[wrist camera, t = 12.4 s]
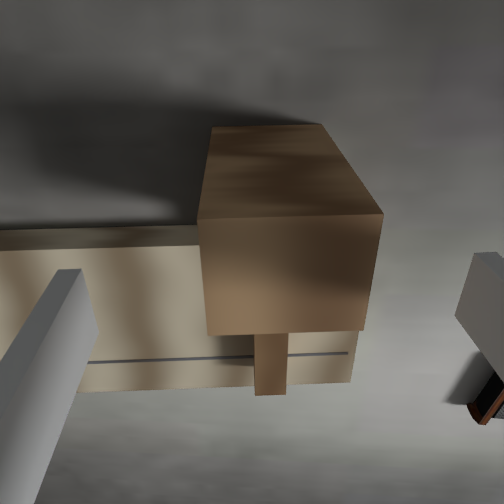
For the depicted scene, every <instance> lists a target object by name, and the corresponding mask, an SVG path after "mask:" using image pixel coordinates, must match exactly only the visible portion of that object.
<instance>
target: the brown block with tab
mask: <svg viewBox="0 0 504 504" xmlns="http://www.w3.org/2000/svg"><path fill="white" fill-rule="evenodd" d="M383 217H384V213H383V212H382V210H381V209H380V208H379V206H378V205H377V203H376V202H375V200H374V199H373V197H372V196H371V195H370V193H369V192H368V190H367V189H366V187H365V186H364V185H363V183H362V182H361V180H360V179H359V177H358V176H357V174H356V173H355V172H354V170H353V169H352V167H351V166H350V164H349V163H348V161H347V160H346V159H345V157H344V156H343V154H342V153H341V151H340V150H339V149H338V147H337V146H336V144H335V143H334V141H333V140H332V138H331V137H330V136H329V134H328V133H327V131H326V130H325V128H324V127H323V125H322V124H313V125H267V126H220V127H212V131H211V137H210V143H209V149H208V155H207V161H206V167H205V173H204V179H203V185H202V191H201V197H200V203H199V209H198V215H197V227H198V237H199V248H200V259H201V270H202V281H203V292H204V302H205V313H206V324H207V335H208V336H220V335H249V334H253V347H254V385H255V396H261V395H286V380H287V360H288V339H289V333H306V332H335V331H363V330H364V325H365V319H366V313H367V308H368V302H369V296H370V291H371V285H372V279H373V274H374V268H375V262H376V257H377V251H378V245H379V240H380V234H381V228H382V223H383Z"/></svg>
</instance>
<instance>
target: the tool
mask: <svg viewBox="0 0 504 504" xmlns="http://www.w3.org/2000/svg"><path fill="white" fill-rule="evenodd" d="M466 405H467V408H468V410H469V412H470V414H471V416H472V418H473V419H474V420H475V421H476V422H477V423H478V424H480V425H486V424H487V423H488V421H489V420H490V419H491V418H499V419H504V382H503V381H502V380H501V378H500V377H499V375H498V374H497V373H496V371H495V372H494V374H493V375H492V376H491V378H490V379H489V381H488V382H487V384H486V385H485V387H484V388H483V390H482V391H481V393H480V394H479V396H478V397H477V399H476V400H475V402H474V403H473V404H466Z"/></svg>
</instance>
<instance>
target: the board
mask: <svg viewBox="0 0 504 504" xmlns="http://www.w3.org/2000/svg"><path fill="white" fill-rule="evenodd" d="M58 269H82V271H83V275H84V278H85V282H86V286H87V289H88V293H89V297H90V300H91V304H92V308H93V312H94V315H95V319H96V323H97V326H98V330H99V334H98V336H97V339H96V342H95V344H94V347H93V350H92V352H91V355H90V357H89V360H88V363H87V365H86V368H85V371H84V373H83V376H82V378H81V381H80V384H79V386H78V389H77V391H76V393H85V392H111V391H137V390H163V389H189V388H215V387H241V386H255V385H254V347H253V334H249V335H220V336H208V335H207V324H206V313H205V302H204V292H203V281H202V270H201V259H200V248H199V237H198V227H197V225H173V226H136V227H100V228H63V229H27V230H0V361H1V359H2V358H3V356H4V355H5V353H6V351H7V350H8V348H9V347H10V345H11V343H12V342H13V340H14V339H15V337H16V336H17V334H18V332H19V331H20V329H21V328H22V326H23V324H24V323H25V321H26V320H27V318H28V316H29V315H30V313H31V312H32V310H33V308H34V307H35V305H36V304H37V302H38V300H39V299H40V297H41V296H42V294H43V292H44V291H45V289H46V288H47V286H48V284H49V283H50V281H51V280H52V278H53V276H54V275H55V273H56V272H57V270H58ZM358 334H359V331H335V332H306V333H289V339H288V360H287V380H286V385H294V384H320V383H346V382H350V381H351V375H352V369H353V363H354V357H355V352H356V346H357V340H358Z"/></svg>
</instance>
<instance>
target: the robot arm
mask: <svg viewBox="0 0 504 504" xmlns="http://www.w3.org/2000/svg"><path fill="white" fill-rule="evenodd" d="M455 317H456V318H457V320H458V321H459V322H460V324H461V325H462V326H463V328H464V329H465V331H466V332H467V333H468V335H469V336H470V337H471V339H472V340H473V341H474V343H475V344H476V346H477V347H478V348H479V350H480V351H481V352H482V354H483V355H484V356H485V358H486V359H487V361H488V362H489V363H490V365H491V366H492V367H493V369H494V370H495V371H496V373H497V374H498V375H499V377H500V378H501V380H502V381H503V382H504V258H502V257H501V256H500V255H499V254H498V253H497V252H483V253H474V256H473V259H472V262H471V265H470V269H469V272H468V275H467V278H466V281H465V284H464V287H463V291H462V294H461V297H460V300H459V303H458V306H457V310H456V313H455ZM98 334H99V330H98V326H97V323H96V319H95V315H94V312H93V308H92V304H91V300H90V297H89V293H88V289H87V286H86V282H85V278H84V275H83V271H82V269H58V270H57V272H56V273H55V275H54V276H53V278H52V280H51V281H50V283H49V284H48V286H47V288H46V289H45V291H44V292H43V294H42V296H41V297H40V299H39V300H38V302H37V304H36V305H35V307H34V308H33V310H32V312H31V313H30V315H29V316H28V318H27V320H26V321H25V323H24V324H23V326H22V328H21V329H20V331H19V332H18V334H17V336H16V337H15V339H14V340H13V342H12V343H11V345H10V347H9V348H8V350H7V351H6V353H5V355H4V356H3V358H2V359H1V361H0V504H34V501H35V499H36V496H37V494H38V491H39V488H40V486H41V483H42V480H43V478H44V475H45V473H46V470H47V467H48V465H49V462H50V460H51V457H52V454H53V452H54V449H55V446H56V444H57V441H58V439H59V436H60V433H61V431H62V428H63V426H64V423H65V420H66V418H67V415H68V412H69V410H70V407H71V405H72V402H73V399H74V397H75V394H76V391H77V389H78V386H79V384H80V381H81V378H82V376H83V373H84V371H85V368H86V365H87V363H88V360H89V357H90V355H91V352H92V350H93V347H94V344H95V342H96V339H97V336H98Z"/></svg>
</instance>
